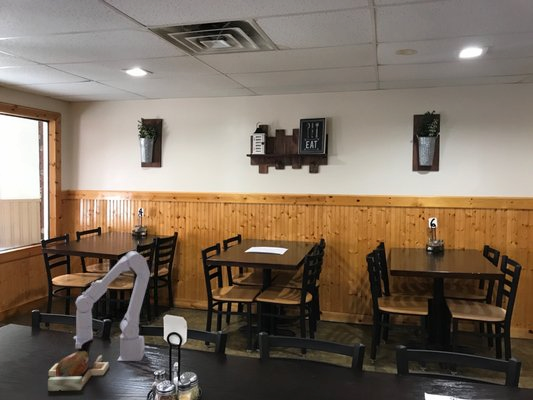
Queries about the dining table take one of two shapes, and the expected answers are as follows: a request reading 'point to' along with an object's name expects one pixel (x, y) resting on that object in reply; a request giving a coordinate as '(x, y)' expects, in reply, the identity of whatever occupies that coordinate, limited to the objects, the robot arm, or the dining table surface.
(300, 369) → the dining table surface
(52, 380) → the lane
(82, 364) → the tin
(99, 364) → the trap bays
